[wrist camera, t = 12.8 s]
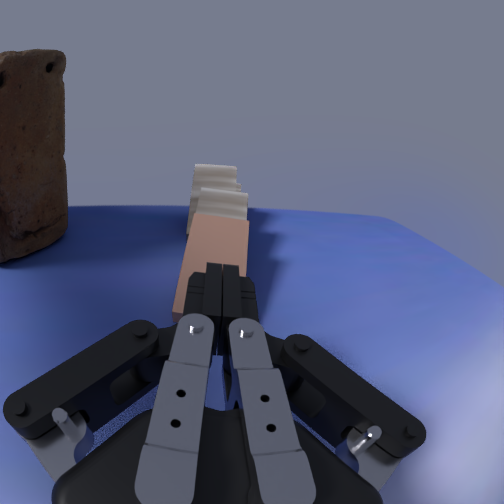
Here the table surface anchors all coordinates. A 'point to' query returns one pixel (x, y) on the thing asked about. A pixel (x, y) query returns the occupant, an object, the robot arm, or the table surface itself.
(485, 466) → the table surface
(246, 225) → the domino
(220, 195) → the domino
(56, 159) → the block
